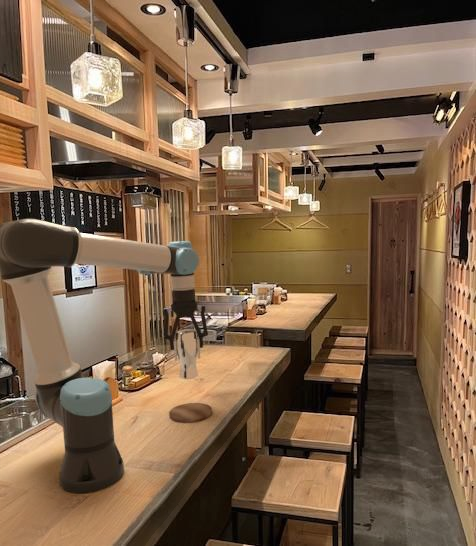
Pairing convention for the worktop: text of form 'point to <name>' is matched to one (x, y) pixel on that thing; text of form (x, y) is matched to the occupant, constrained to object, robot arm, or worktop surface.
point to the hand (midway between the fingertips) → (187, 358)
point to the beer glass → (187, 353)
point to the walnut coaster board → (190, 412)
